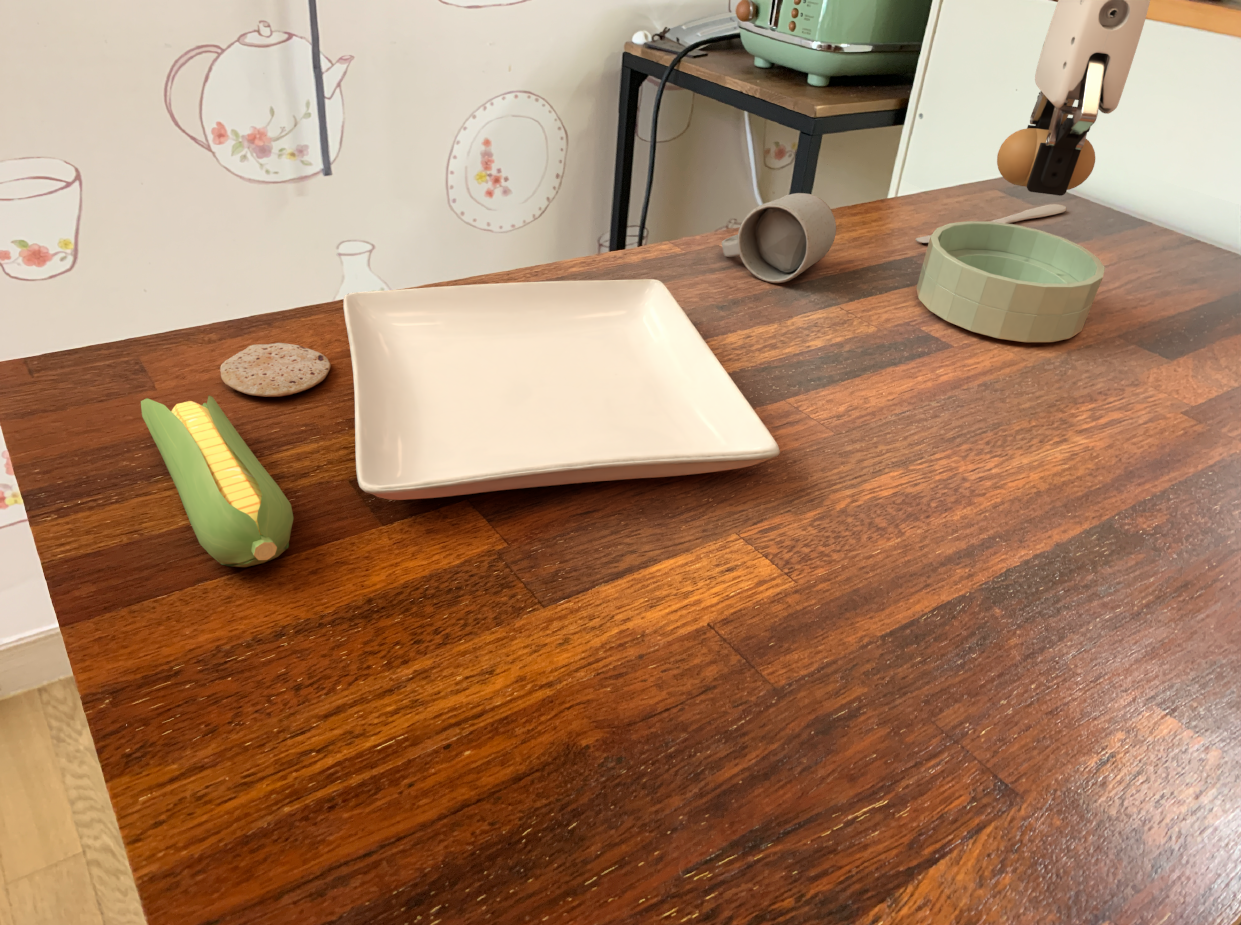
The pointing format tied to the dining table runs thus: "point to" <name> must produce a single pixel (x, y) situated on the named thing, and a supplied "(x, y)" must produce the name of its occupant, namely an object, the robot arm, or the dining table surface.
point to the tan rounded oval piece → (1022, 152)
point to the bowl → (1009, 281)
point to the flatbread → (274, 369)
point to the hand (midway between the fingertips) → (1039, 180)
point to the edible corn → (220, 483)
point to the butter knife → (1020, 216)
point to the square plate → (538, 389)
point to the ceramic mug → (783, 237)
